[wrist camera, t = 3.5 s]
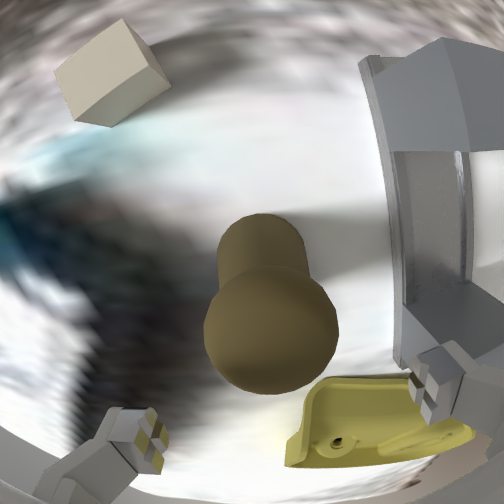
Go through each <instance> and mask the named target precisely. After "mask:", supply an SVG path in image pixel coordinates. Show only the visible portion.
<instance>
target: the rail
mask: <svg viewBox="0 0 504 504" xmlns="http://www.w3.org/2000/svg"><path fill="white" fill-rule="evenodd" d="M403 58H404V57H380V55H369V56H367V57H365V58H364V59H362V60H361V61H360V62H359V63H358V66H359V70H360V73H361V76H362V80H363V83H364V87H365V91H366V94H367V98H368V102H369V106H370V110H371V114H372V119H373V123H374V127H375V132H376V137H377V142H378V147H379V152H380V157H381V163H382V169H383V175H384V181H385V188H386V195H387V203H388V211H389V220H390V230H391V242H392V256H393V275H394V346H393V359H394V360H395V362H396V364H397V365H398V367H399V368H401V369H402V370H404V369H407V368H409V367H408V365H407V364H406V363H405V361H404V360H403V358H402V357H401V355H400V352H401V335H402V304H404V305H405V306H408V305H411V304H414V303H415V300H417V299H420V298H423V297H426V296H429V295H431V294H434V293H437V292H440V291H443V290H445V289H448V288H451V287H454V286H456V285H459V284H461V283H462V284H464V285H466V284H469V283H471V280H472V266H473V239H474V225H473V197H472V183H471V172H470V164H469V156H468V152H454V151H393V152H389V148H388V143H387V138H386V133H385V129H384V124H383V120H382V115H381V111H380V107H379V103H378V99H377V95H376V91H375V88H374V84H373V81H372V77H373V76H375V75H377V74H378V73H380V72H381V71H383V70H385V69H386V68H388V67H390V66H391V65H393V64H395V63H396V62H398V61H400V60H401V59H403Z"/></svg>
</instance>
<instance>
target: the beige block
mask: <svg viewBox="0 0 504 504" xmlns="http://www.w3.org/2000/svg"><path fill="white" fill-rule="evenodd" d="M54 74H55V76H56V79H57V81H58V84H59V86H60V89H61V91H62V94H63V96H64V99H65V101H66V103H67V106H68V108H69V110H70V113H71V115H72V117H73V120H74V121H79V122H84V123H90V124H95V125H100V126H105V127H110V128H112V127H113V126H114V125H116V124H117V123H119V122H120V121H121V120H123V119H124V118H125V117H127V116H128V115H130V114H131V113H133V112H134V111H135V110H137V109H138V108H140V107H141V106H143V105H144V104H146V103H147V102H149V101H150V100H152V99H154V98H155V97H157V96H158V95H160V94H161V93H163V92H165V91H166V90H168V89H170V88H171V87H172V86H171V84H170V82H169V81H168V79H167V77H166V75H165V74H164V72H163V70H162V68H161V67H160V65H159V63H158V61H157V60H156V58H155V56H154V54H153V53H152V51H151V49H150V47H149V46H148V45H147V44H146V43H145V42H144V40H143V39H142V38H141V37H140V36H139V35H138V34H137V33H136V32H135V31H134V30H133V29H132V28H131V27H130V26H129V25H128V24H127V22H126V21H125V20H124V19H123V18H122V19H120V20H119V21H117V22H116V23H114V24H113V25H111V26H110V27H108V28H107V29H106V30H104V31H103V32H101V33H100V34H99V35H97V36H96V37H94V38H93V39H92V40H91V41H89V42H88V43H87V44H85V45H84V46H83V47H82V48H80V49H79V50H78V51H77V52H75V53H74V54H73V55H72V56H71V57H69V58H68V59H67V60H66V61H65V62H64V63H62V64H61V65H60V66H59V67H58V68H57V69H56V70H55V71H54Z"/></svg>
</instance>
